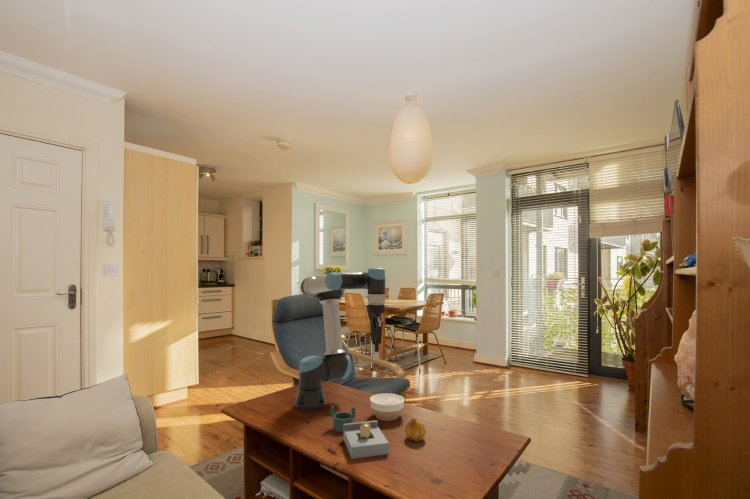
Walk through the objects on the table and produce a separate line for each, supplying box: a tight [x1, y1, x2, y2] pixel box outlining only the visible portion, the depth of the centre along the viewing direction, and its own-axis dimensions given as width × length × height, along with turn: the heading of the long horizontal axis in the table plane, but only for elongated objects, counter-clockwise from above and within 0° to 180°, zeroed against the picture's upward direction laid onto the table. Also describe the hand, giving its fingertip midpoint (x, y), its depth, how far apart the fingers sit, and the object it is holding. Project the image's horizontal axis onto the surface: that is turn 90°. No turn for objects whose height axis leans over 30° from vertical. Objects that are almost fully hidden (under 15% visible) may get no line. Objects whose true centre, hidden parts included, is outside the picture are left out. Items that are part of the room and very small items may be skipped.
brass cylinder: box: [360, 423, 371, 440], centre depth 144 cm, size 4×4×8 cm
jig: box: [342, 420, 390, 460], centre depth 145 cm, size 16×14×6 cm
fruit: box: [404, 418, 427, 442], centre depth 151 cm, size 8×8×8 cm
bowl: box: [369, 392, 405, 422], centre depth 174 cm, size 16×16×8 cm
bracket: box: [330, 405, 356, 433], centre depth 161 cm, size 9×9×9 cm
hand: (375, 358), depth 161 cm, fingers closed
